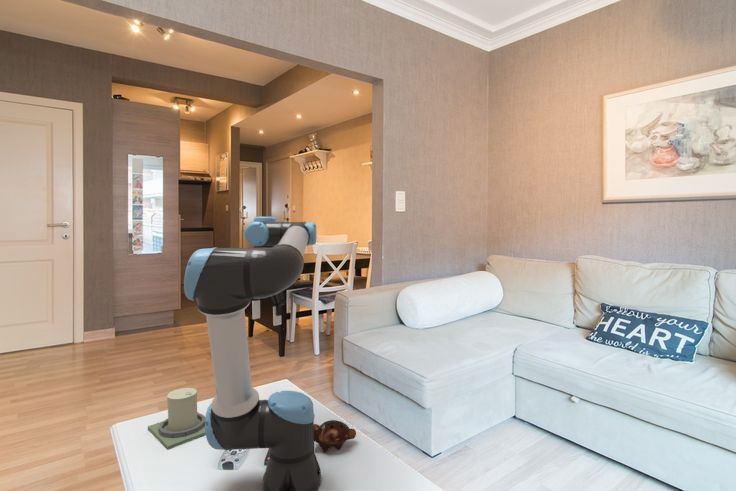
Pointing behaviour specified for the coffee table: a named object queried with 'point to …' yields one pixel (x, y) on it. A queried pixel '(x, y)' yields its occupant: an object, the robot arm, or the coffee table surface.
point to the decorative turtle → (332, 434)
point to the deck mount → (177, 433)
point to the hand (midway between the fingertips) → (266, 321)
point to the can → (182, 409)
